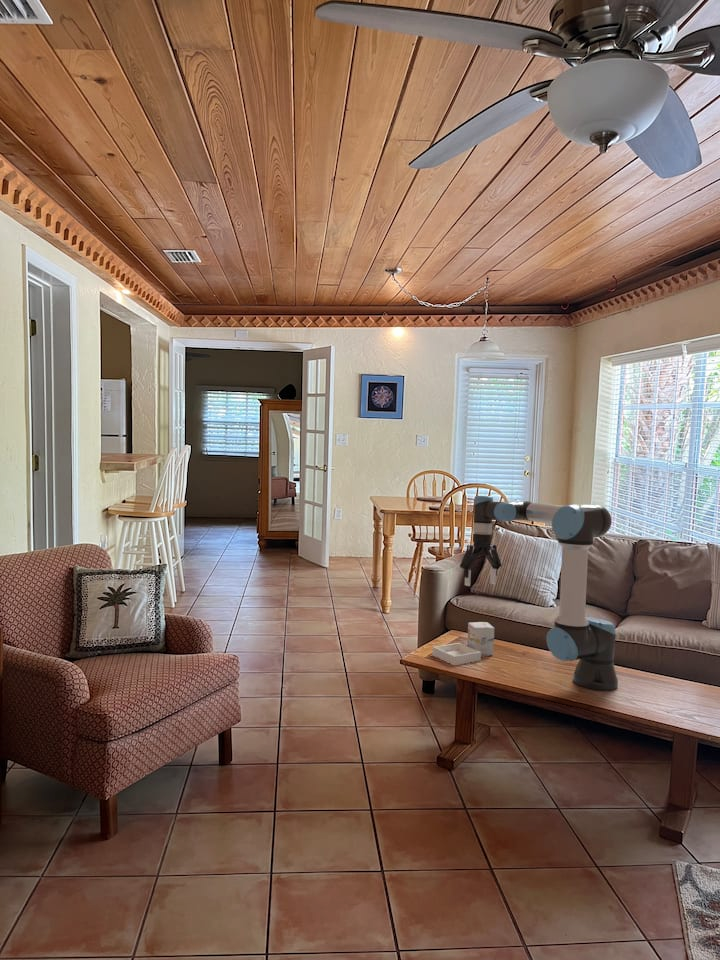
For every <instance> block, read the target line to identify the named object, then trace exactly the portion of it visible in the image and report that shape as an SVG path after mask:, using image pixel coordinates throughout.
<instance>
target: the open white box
mask: <svg viewBox="0 0 720 960" xmlns="http://www.w3.org/2000/svg"><path fill="white" fill-rule="evenodd" d="M432 656H433V657H434V658H437V657H438V658H437V659H439V658H440V659H439V660H441V661H443V660H444V662H445V661H446V662H445V663H448V664H449V663H450V665H452V666H453V665H455V666H459V664H461V665H465V663H466V664H471V663H470V662H472V663H476V662H475V661H477V662H481V660H482V656H481V652H480V651H477V650H475V649H473V648H470V647H468V646H467V644H466V645H465V644H463V643H461V642H456V643H455V642H454V643H449V644H443V645H442V644H441V645H436V646H432Z"/></svg>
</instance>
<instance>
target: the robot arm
mask: <svg viewBox="0 0 720 960" xmlns="http://www.w3.org/2000/svg"><path fill="white" fill-rule="evenodd" d="M612 520H613V519H612V516H611V514H610V512H609V511H608V509H607V508H605V506H602V505H600V504H593V503H592V504H574V503H573V504H568V505H560V504H559V505H558V504H551V503H541V502H539V503H538V502H536V501H535V502H534V501H531V500H528V501H527V500H525V501H494V497H493V496H492V495H477V496H474V504H473V525H472V526H473V527H472V528H473V529H472V532H473V534H472V543H473V545H471V544H468V545H466V550H465V553H464V555H463V558H462V561H461V562H460V564H459V567H460V569H462V570H463V577H464V586H466V587H470V586H471V577H472V576H471V575H472V570H471V567H472V565H473V564H474V563H475V562H476V560H477V559H478V558H479V557H485V558H486V559H487V561H488V562H489V564H490V565H491V567H490V572H489V573H490V575H489V576H490V577H489V580H490V581H489V584H490V585H493V586H495V585H497V577H498V570H500V569H501V568H502V563H501V559H500V556H499V554H498V551H497V545H496V544H491V543H492V531H493V521H498V522H499V521H500V522H511V521H528V522H537V523H541V524H542V523H544V524H549V525H551V529H552V531H553V532H554V536H555V537H556V538H557V544H558V545H560V547H561V565H560V566H561V568H560V569H561V570H560V592H559V613H558V615H557V616H556V617H555V618H554V621H553V622H554V624H553V627H551V628H550V629H549V630H548V631H547V634H546V644H547V648H548V650H549V651H550V652H551V655H552V657H553V656H554V658H556V659H557V660H559V661H560V662H561V661H562V662H574V661H577V660H578V662H577V665H576V667H575V670H574V671H573V677H572V681H573V682H574V683H575V684H576V685H579V687H580V686H581V687H582V688H586V689H591V690H595V691H612V690H613V691H614V690H615V689H617V688H618V685H619V679H618V677H617V672H616V668H615V664H614V662H615V661H614V660H615V648H616V645H615V644H616V636H617V634H616V625H615V624H614V623H613V622H611V621H608V620H605V619H600V618H596V617H590V616H586V604H587V602H586V601H587V581H588V580H587V579H588V565H589V564H588V561H589V549H590V548H592V547H593V545H594V538H599V537H602V536H604V535H605V534H607V533H608V532H609V530H610V528H611V527H612V522H613V521H612Z"/></svg>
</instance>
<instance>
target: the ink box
mask: <svg viewBox="0 0 720 960" xmlns="http://www.w3.org/2000/svg"><path fill="white" fill-rule="evenodd" d="M495 629H496V628H495V627H494V626H493V625H492V624H490V623H489V622H487V621H486V622H485V621H477V622H476V621H475V622H474V621H473V622H468V623H467V641H466V642H467V643H466V646H468V647H470V648H473V649H475V650H477V651H480V652H481V657H487V656H488V657H489V656H490V655H492V656H491V657H493V656H494V651H495V649H494V646H495V645H494V644H495Z"/></svg>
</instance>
